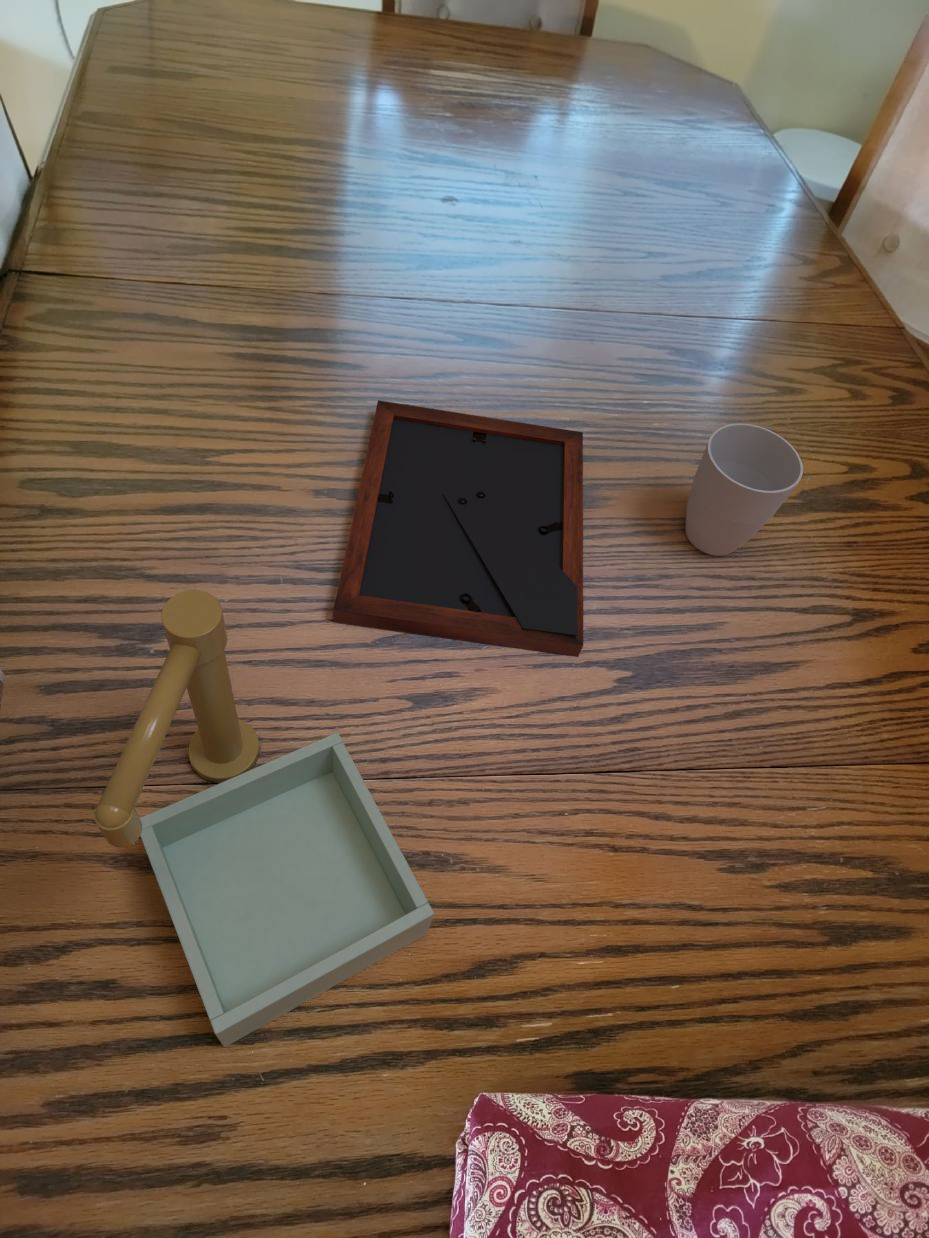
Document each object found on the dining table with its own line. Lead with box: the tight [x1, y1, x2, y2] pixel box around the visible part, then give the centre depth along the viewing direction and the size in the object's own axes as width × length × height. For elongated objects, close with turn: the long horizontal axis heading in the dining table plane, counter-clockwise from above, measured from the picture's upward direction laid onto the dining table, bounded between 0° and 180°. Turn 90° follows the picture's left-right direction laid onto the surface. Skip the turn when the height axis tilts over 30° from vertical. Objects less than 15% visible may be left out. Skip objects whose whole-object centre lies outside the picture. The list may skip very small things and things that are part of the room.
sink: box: [139, 731, 435, 1048], centre depth 52 cm, size 14×14×5 cm
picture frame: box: [332, 399, 584, 657], centre depth 74 cm, size 20×2×25 cm
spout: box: [93, 589, 228, 848], centre depth 44 cm, size 14×3×4 cm, turn 170°
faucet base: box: [186, 649, 261, 784], centre depth 54 cm, size 5×5×14 cm
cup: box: [685, 422, 804, 557], centre depth 74 cm, size 8×8×10 cm
